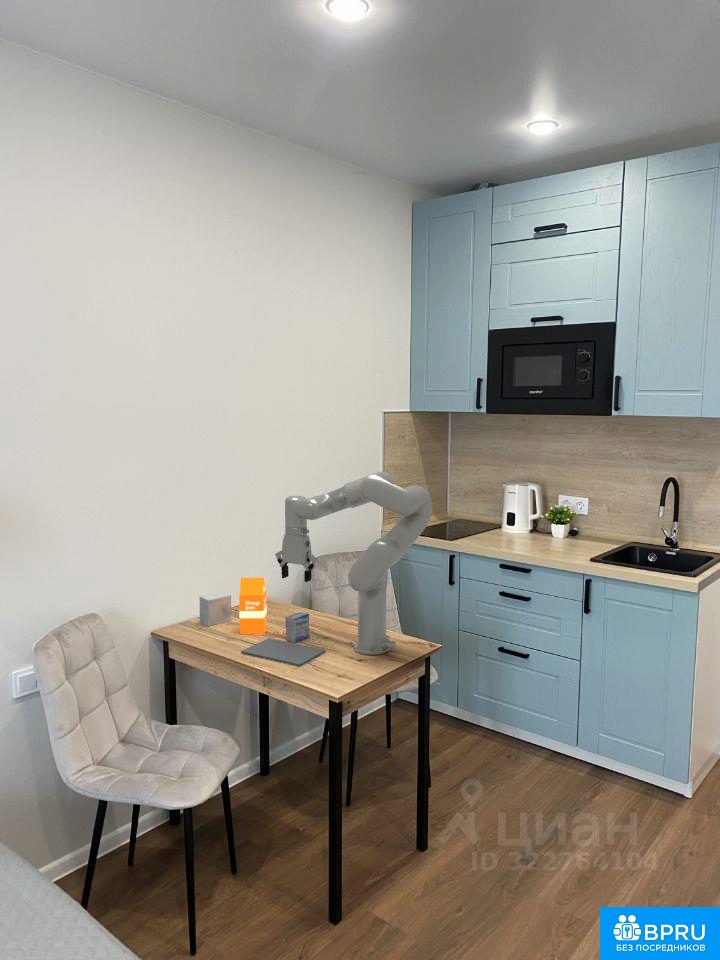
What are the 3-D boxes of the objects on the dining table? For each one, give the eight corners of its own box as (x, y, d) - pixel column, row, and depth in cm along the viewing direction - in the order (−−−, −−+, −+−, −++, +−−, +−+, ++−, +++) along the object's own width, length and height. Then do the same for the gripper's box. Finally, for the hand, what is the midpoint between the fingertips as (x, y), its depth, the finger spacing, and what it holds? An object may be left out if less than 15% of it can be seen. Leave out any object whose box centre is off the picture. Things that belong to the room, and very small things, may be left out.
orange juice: (243, 627, 268) (242, 574, 266) (267, 627, 268) (266, 574, 266) (239, 634, 260) (238, 580, 258) (264, 634, 260) (263, 580, 258)
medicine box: (294, 643, 251) (294, 618, 250) (285, 640, 254) (285, 616, 253) (309, 636, 257) (309, 613, 256) (300, 634, 260) (300, 611, 259)
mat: (325, 652, 242) (325, 649, 242) (300, 666, 229) (300, 664, 229) (268, 640, 254) (268, 637, 254) (241, 653, 241) (241, 651, 241)
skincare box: (208, 627, 268) (207, 599, 267) (199, 623, 273) (198, 596, 272) (232, 621, 276) (231, 594, 274) (222, 617, 280) (222, 591, 279)
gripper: (322, 532, 250) (322, 580, 252) (282, 527, 258) (282, 573, 260) (310, 535, 243) (310, 585, 245) (269, 530, 252) (270, 578, 254)
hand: (296, 579), depth 253 cm, fingers open, 9 cm apart
